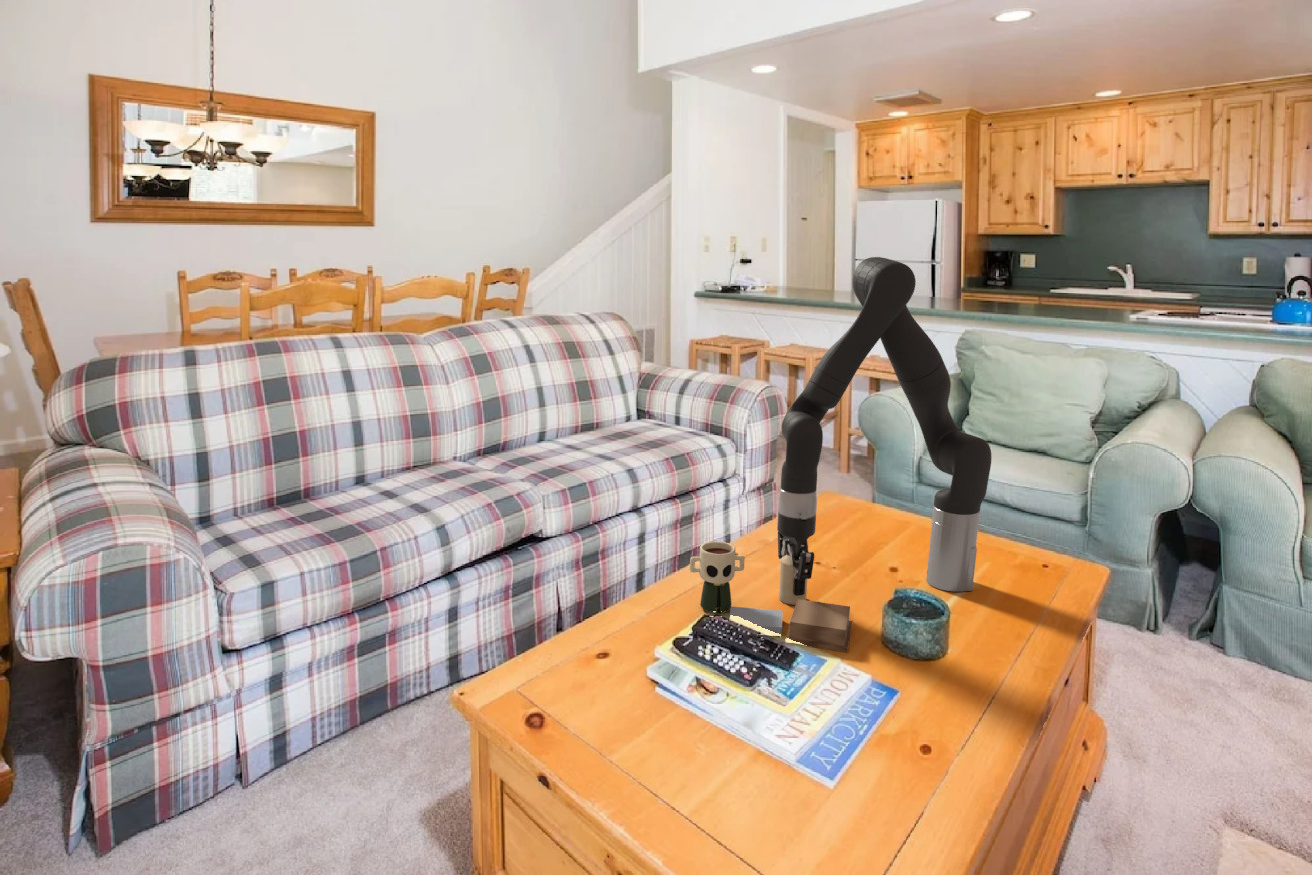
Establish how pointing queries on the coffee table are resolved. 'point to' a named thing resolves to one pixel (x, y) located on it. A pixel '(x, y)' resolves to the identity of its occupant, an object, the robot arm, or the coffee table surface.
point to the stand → (820, 625)
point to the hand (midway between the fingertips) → (793, 588)
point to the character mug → (716, 574)
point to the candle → (788, 582)
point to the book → (760, 617)
